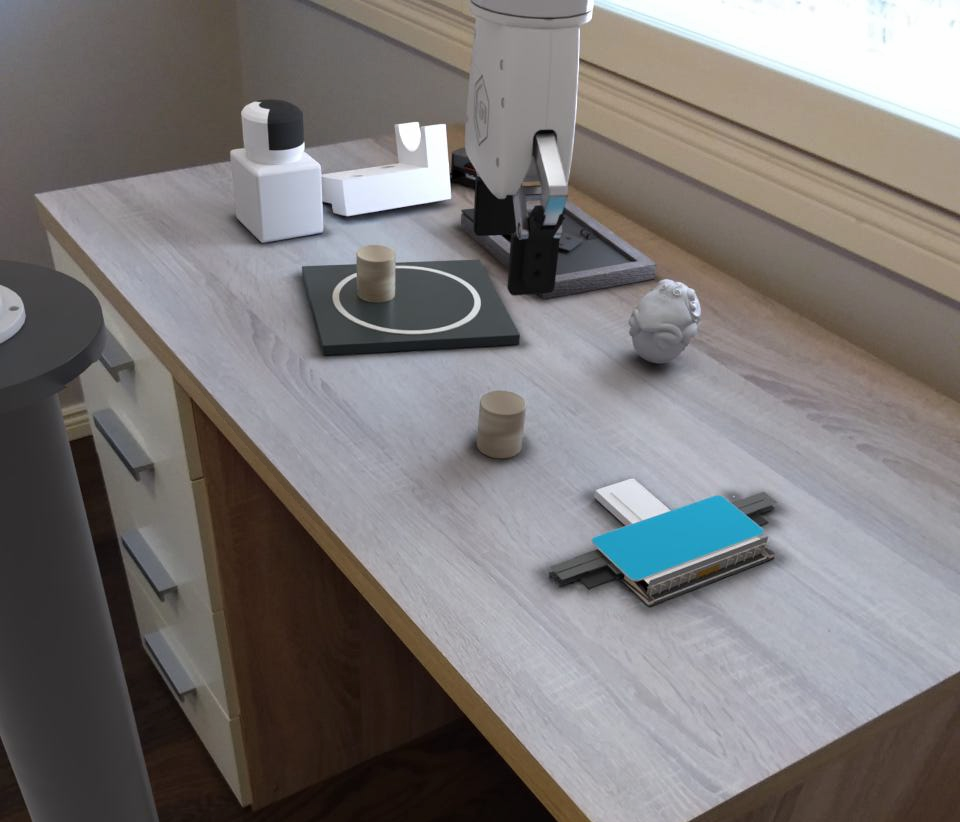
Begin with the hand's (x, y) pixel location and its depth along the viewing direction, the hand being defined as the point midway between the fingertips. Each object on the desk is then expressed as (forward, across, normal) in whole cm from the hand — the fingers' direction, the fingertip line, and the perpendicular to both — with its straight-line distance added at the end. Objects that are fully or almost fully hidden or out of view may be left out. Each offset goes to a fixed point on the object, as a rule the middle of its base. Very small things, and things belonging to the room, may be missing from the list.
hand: (511, 261), depth 75 cm
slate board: (+15, -23, -3) cm, 27 cm away
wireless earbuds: (+15, -53, +10) cm, 56 cm away
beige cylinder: (+15, +1, 0) cm, 15 cm away
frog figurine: (+15, -11, +18) cm, 26 cm away
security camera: (+14, -43, -13) cm, 47 cm away
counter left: (+13, -24, -6) cm, 28 cm away
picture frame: (+15, -34, +15) cm, 40 cm away
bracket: (+15, -49, -1) cm, 51 cm away
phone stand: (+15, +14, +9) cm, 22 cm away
